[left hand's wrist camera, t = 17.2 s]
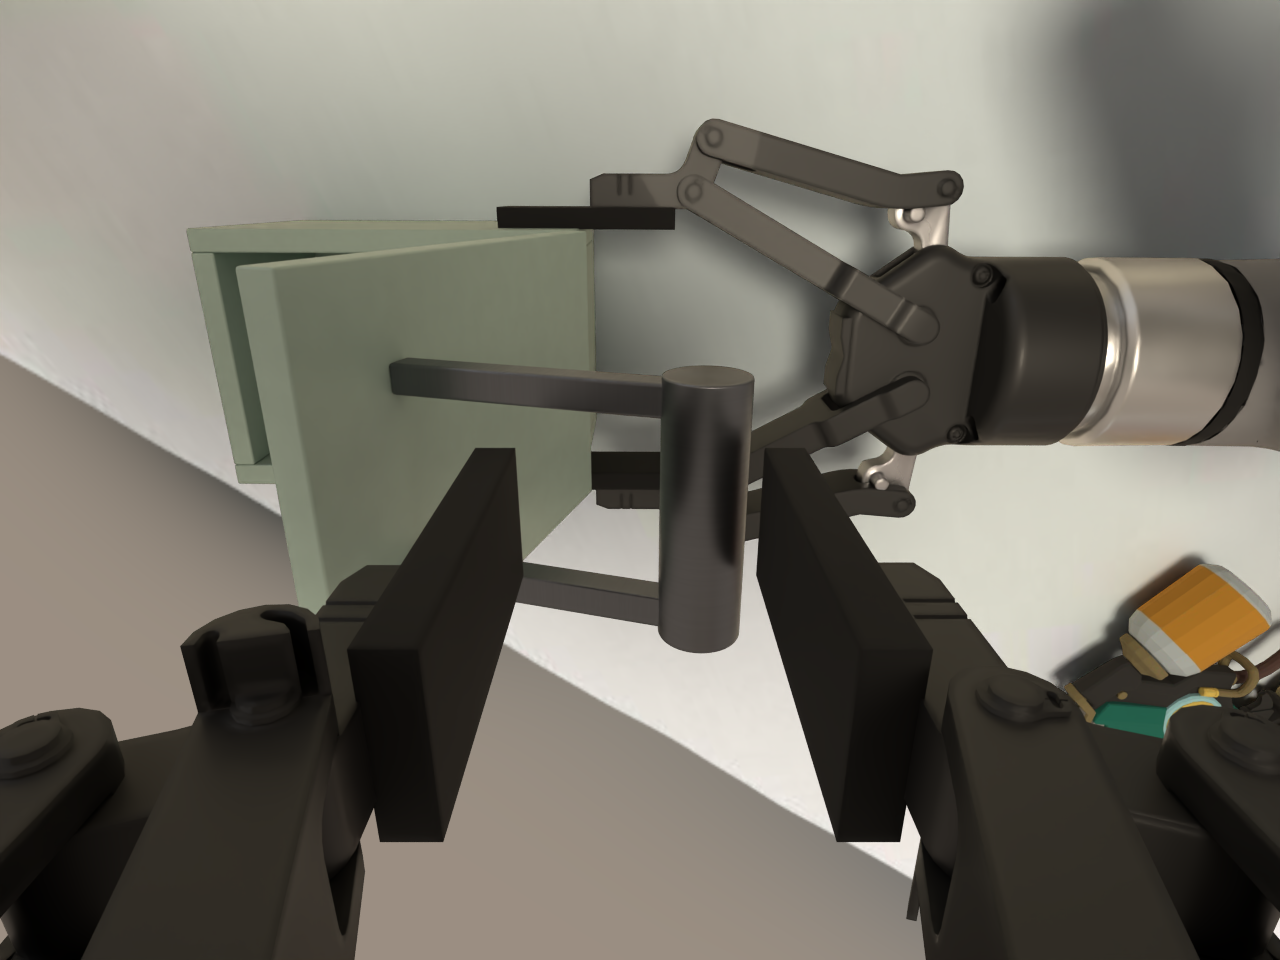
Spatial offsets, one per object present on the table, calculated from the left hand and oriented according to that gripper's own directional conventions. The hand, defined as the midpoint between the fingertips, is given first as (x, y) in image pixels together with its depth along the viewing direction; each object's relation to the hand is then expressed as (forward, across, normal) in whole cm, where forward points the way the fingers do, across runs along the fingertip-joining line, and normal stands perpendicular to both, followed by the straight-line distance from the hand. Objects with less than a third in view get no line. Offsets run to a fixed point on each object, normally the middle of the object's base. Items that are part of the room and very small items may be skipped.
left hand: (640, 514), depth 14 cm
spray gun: (+23, +33, -20) cm, 45 cm away
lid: (+7, -5, 0) cm, 8 cm away
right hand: (+17, -5, 0) cm, 18 cm away
